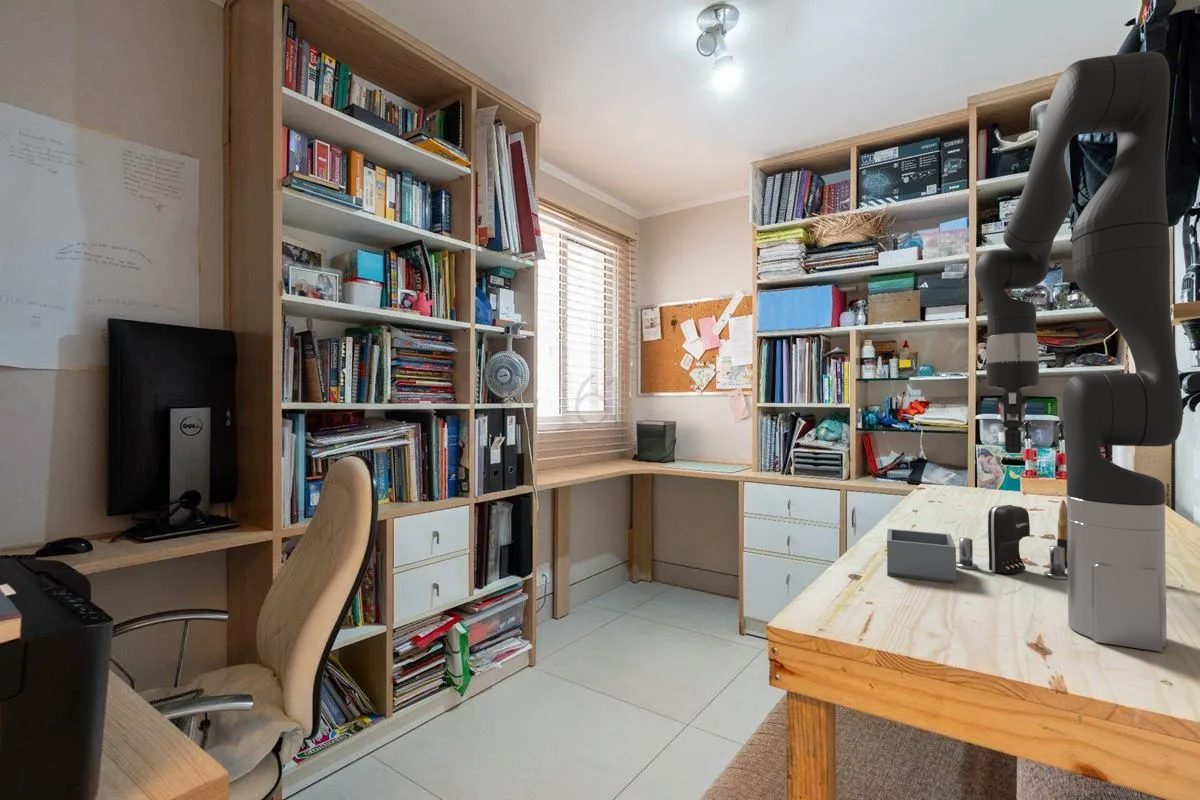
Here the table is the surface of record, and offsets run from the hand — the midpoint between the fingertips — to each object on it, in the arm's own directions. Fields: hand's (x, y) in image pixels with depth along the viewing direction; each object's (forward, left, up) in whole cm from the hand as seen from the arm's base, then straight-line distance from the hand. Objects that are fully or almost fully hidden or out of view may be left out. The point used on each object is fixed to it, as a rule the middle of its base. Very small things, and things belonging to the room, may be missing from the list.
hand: (1013, 451), depth 99 cm
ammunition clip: (+4, -12, -21) cm, 25 cm away
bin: (-9, +15, -21) cm, 27 cm away
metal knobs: (-2, +1, -21) cm, 21 cm away
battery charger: (-2, +1, -21) cm, 21 cm away
